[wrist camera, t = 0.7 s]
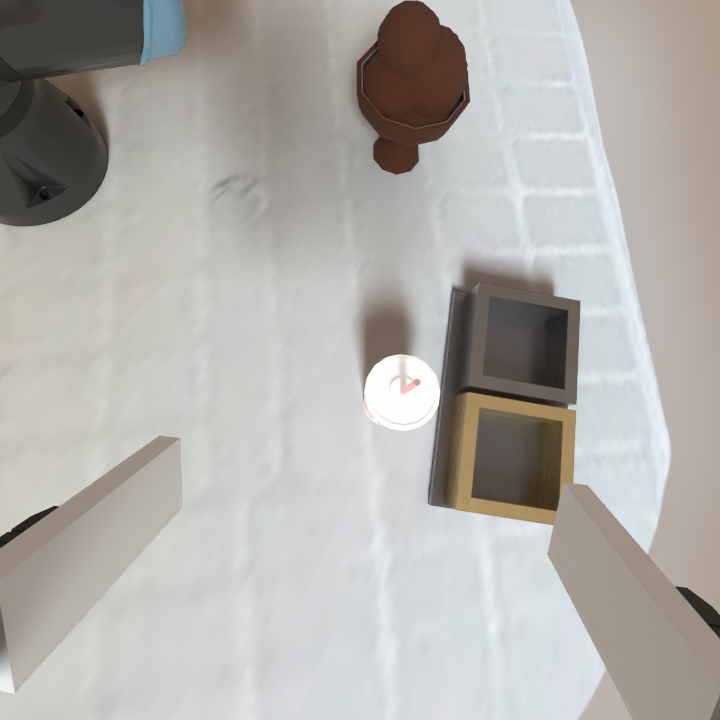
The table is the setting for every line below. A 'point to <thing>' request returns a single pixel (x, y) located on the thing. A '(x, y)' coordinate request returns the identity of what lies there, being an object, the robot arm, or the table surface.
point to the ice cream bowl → (411, 84)
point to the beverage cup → (401, 393)
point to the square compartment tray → (507, 404)
